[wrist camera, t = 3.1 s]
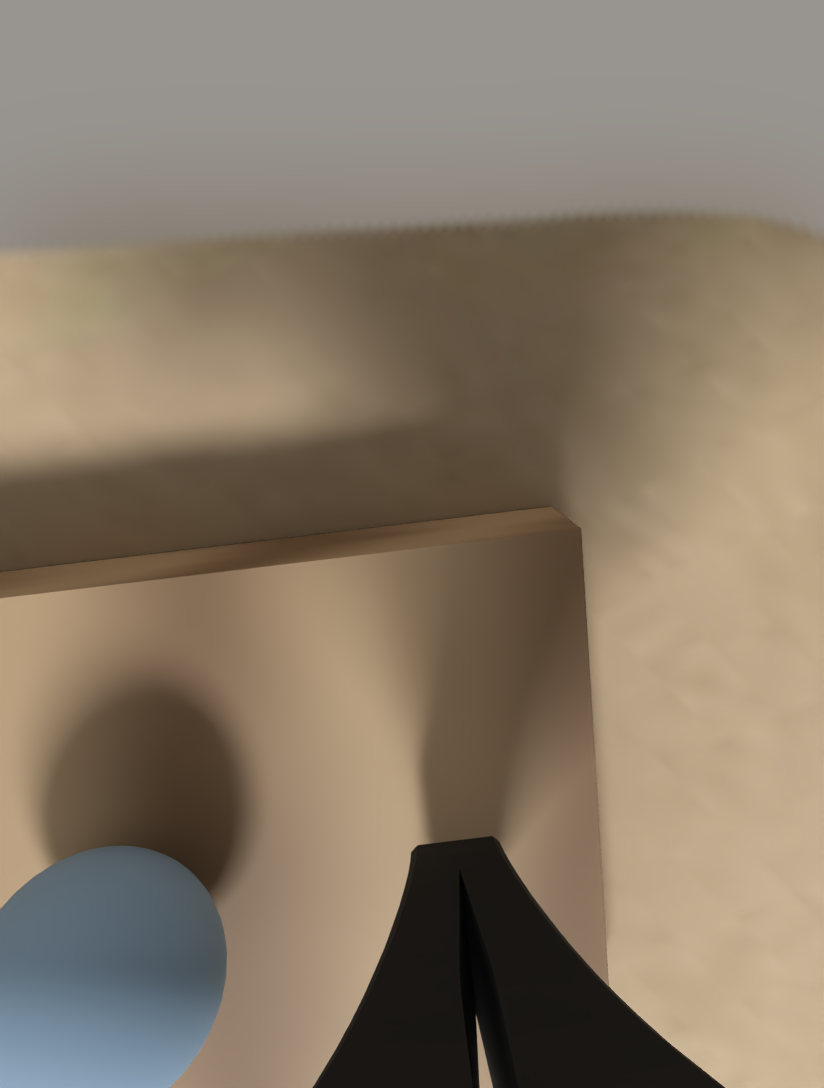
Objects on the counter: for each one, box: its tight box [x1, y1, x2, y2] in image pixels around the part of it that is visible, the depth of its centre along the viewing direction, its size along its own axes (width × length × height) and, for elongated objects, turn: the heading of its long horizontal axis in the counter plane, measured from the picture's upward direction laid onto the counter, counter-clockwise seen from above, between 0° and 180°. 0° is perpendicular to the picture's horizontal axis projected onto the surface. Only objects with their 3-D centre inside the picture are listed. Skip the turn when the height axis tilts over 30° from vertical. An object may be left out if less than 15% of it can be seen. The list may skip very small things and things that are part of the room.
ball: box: [0, 846, 227, 1088], centre depth 11 cm, size 4×4×4 cm
